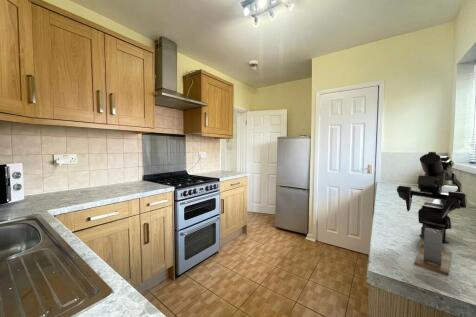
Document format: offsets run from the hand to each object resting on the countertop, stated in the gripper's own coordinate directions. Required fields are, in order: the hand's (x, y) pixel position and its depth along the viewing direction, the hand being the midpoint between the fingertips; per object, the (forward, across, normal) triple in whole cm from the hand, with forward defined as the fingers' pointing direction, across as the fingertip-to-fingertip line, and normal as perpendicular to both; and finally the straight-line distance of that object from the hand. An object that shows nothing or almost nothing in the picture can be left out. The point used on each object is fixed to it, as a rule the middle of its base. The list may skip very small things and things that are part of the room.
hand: (423, 213), depth 72 cm
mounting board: (+13, +4, +6) cm, 15 cm away
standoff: (+15, +4, +3) cm, 16 cm away
